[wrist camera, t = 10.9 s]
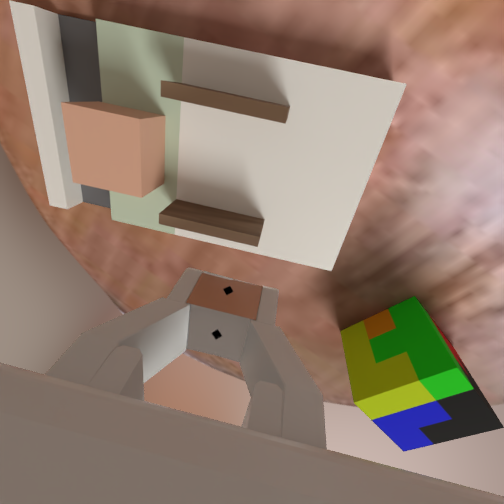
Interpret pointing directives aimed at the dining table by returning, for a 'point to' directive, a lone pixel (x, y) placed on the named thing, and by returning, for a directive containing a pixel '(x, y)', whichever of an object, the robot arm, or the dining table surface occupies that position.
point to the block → (115, 147)
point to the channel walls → (205, 216)
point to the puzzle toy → (413, 379)
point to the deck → (213, 129)
